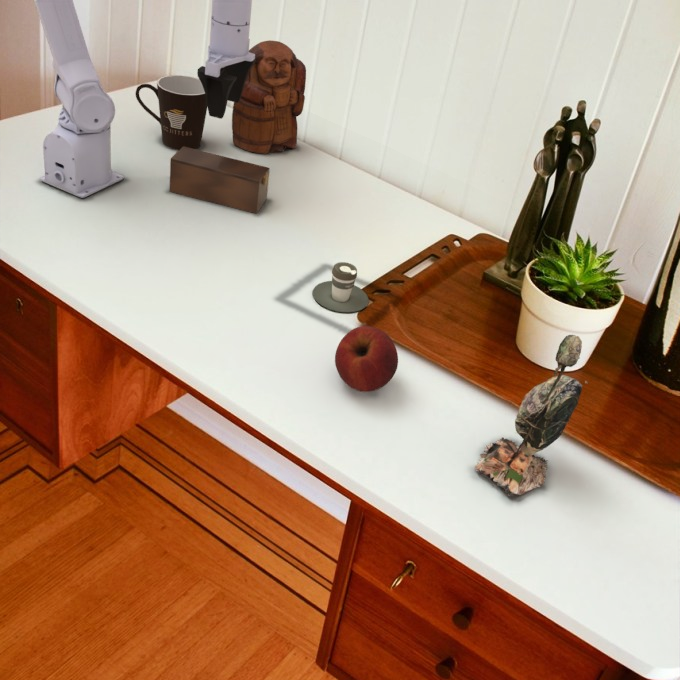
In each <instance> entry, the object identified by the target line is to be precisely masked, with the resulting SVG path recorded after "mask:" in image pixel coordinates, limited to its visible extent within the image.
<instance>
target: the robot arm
mask: <svg viewBox="0 0 680 680" xmlns="http://www.w3.org/2000/svg"><path fill="white" fill-rule="evenodd" d="M33 2H34V4H35V8H36V11H37V14H38V17H39V20H40V23H41V25H42V26H41V27H42V30H43V32H44V35H45V39H46V41H47V44H48V48H49V50H50V53H51V56H52V67H53V70H54V75H55V76H54V77H55V79H54V84H53V92H54V95H55V97H56V98H57V100H58V102H59V103H60V104H61V105H62V108H61V110H60V112H59V115H58V122H57V125H56V127H55V128H54V129H53V131H51V132H50V133H48V134H47V135H46V136H45V138H44V139H43V145H42V148H43V149H42V150H43V166H44V167H43V168H44V176H41V177H40V181H41V182H43V183H46V184H47V185H50V186H52V187H54V188H57V189H58V190H62V191H64V192H66V193H69V194H70V195H73V196H76V197H78V198H80V199H84V198H86V197H89V196H90V195H93V194H95V193H97V192H99V191H101V190H103V189H105V188H108V187H110V186H112V185H114V184H116V183H118V182H120V181H123V180H124V175H122V174H120V173H117V172H116V171H113V170H112V141H111V139H112V138H111V137H112V135H111V134H112V132H111V129H112V127H111V125H112V123H113V121H114V119H115V115H116V107H115V102H114V101H113V99H112V97H111V96H110V95H109V94H108V93H107V92H106V91H105V90H104V88H103V86H102V83H101V80H100V77H99V75H98V72H97V71H96V68H95V66H94V64H93V61H92V59H91V56H90V53H89V49H88V47H87V44H86V39H85V36H84V33H83V30H82V27H81V23H80V20H79V16H78V14H77V10H76V7H75V3H74V0H33ZM252 4H253V0H211V16H210V29H209V31H210V32H209V45H208V47H207V59H206V61H205V64H204V65H205V66H204V65H201V66H200V67H198V68H197V73H196V75H197V78H198V79H200V81H201V83H202V86H203V89H204V92H205V96H206V101H207V112H208V116H209V117H212V118H216V119H223V118H224V116H225V113H226V110H227V106H228V101H229V102H232V103H234V102H236V103H238V102H239V101H240V98H241V95H242V92H243V88H244V85H245V82H246V79H247V76H248V74H249V72H250V70H251V68H252V66H253V65H254V63H255V61H256V57H255V54H253V53H250V52H249V50H250V41H251V40H250V31H251V29H250V28H251V19H252V18H251V17H252Z"/></svg>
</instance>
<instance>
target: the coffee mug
mask: <svg viewBox="0 0 680 680" xmlns="http://www.w3.org/2000/svg"><path fill="white" fill-rule="evenodd" d="M145 88H146V89H149V90H151V91H153V93H154V94H155V95H156V98H157V101H158V107H159V108H158V110H159V116H158V115H157V114H156V113H155V112H153V111H152V109H150V108H149V107H148V106H147V105H146V104H145V103H144V101H143V100H142V99H141V96H140V92H141V90H142V89H145ZM135 98H136V100H137V102H138V103H139V105H140V106H141V107H142V108H143V109H144V111H145V112H147V114H148V115H150V116H151V117H152V118H153V119H155V120H156V121H157V122H158V123H159V125H160V129H161V140H162V144H163V145H164V146H166V147H168V148H170V149H172V150H176V151H179V150H180V149H181V148H182V147H183V146H185V147H189V148H193V149H197V150H198V149H199V148H200V147H201V144H202V139H203V135H204V134H203V133H204V128H205V123H206V117H207V112H208V107H207V101H206V96H205V92H204V89H203V86H202V83H201V81H200V79H199V78H198V77H194V76H190V75H182V74H172V75H171V74H170V75H165V76H162V77H159V78H158V79H157V80H156V86H154V85H152V84H150V83H141V84H140V85H138V86H137V87H136V90H135Z"/></svg>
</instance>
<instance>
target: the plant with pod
mask: <svg viewBox="0 0 680 680" xmlns="http://www.w3.org/2000/svg"><path fill="white" fill-rule="evenodd" d="M582 344H583V341H582V340H581V338H580V336H578V335H576V334H568V335H566V336H564V337H563V339H562V340H561V342H560V343H559V346H558V349H557V352H556V354H555V361H556V363H557V366H556V367H555V370H554V373H553V376H552V377H551V378H548V379H546V380H545V381H543V382H542V383H540V384H536V385H535V386H533V387H532V389H530V391H528V392H527V393H526V394H525V395H524V397H523V399H522V401H521V404H520V406H519V407H518V410H517V414H516V418H515V419H514V427H515V432H516V433H517V434H518V435H519V436H520V438H522V441H521V443H520V444H519V446H518V445H517V444H516V442H515V441H513V440H510V439H508V438H505V437H501V438H499V439H497V440H496V441H495V442H490V443H489V444H488V445H485V449H484V450H483V452H484V453H480V454H479V456H480V459H478V462H477V463H476V465H474V468H475V470H476V472H477V473H478V472H479V474H484V475H485V476H488V475H489V479H490V480H491V479H492V478H493V479H492V481H493V482H496V483H497V484H496V486H498V487H500V488H501V489H503V491H504V490H505V491H504V493H506V494H507V496H509V497H515V498H516V497H520V496H521V495H524V494H526V493H527V492H530V491H531V490H533V489H537V488H541V486H542V485H544V483H545V481H546V479H547V477H546V471H547V470H548V468H547V467H548V461H549V460H546V459H545V458H544V457H541V456H537V455H535V454H537V453H539V452H541V451H542V450H544V449H546V448H548V447H550V446H551V445H552V444H553V443H554V442H555V441H557V440H558V439H559V438H560V437H561V436H562V434H563V432H564V431H565V429H566V426H567V425H568V423H569V422H570V419H571V417H572V415H573V413H574V412H575V410H576V408H577V407H578V405H579V400H580V396H581V395H582V390H583V384H581V382H580V381H579V380H578V379H577V378H573V377H572V376H569V375H565V374H564V372H565V370H566V368H567V367H569V368H572V367H574V366H575V365H577V363H578V362H579V361H578V360H579V359H581V358H580V356H581V353H582V347H583V345H582ZM559 370H560V371H559ZM558 372H559V373H558ZM584 383H585V384H586V385H587V384H588V383H589V382H588V381H587V380H585V381H584Z"/></svg>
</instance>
